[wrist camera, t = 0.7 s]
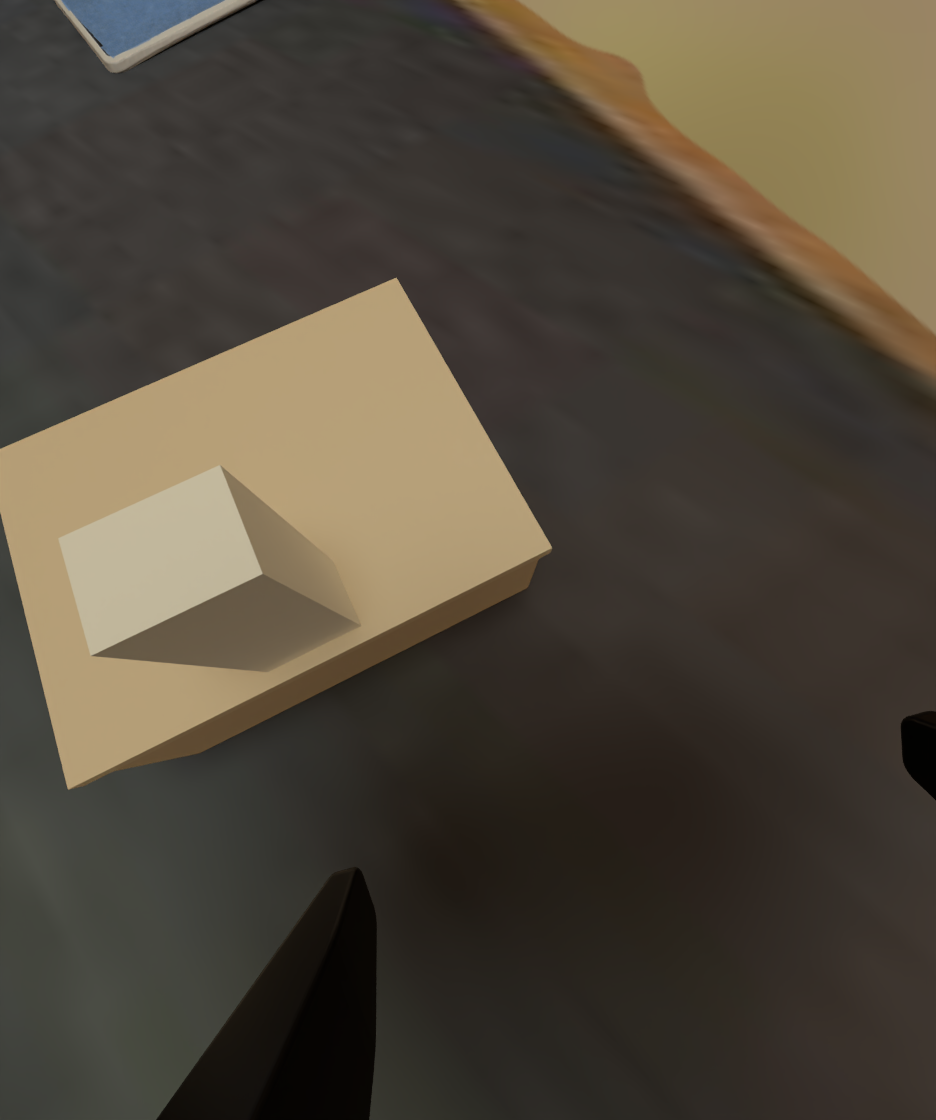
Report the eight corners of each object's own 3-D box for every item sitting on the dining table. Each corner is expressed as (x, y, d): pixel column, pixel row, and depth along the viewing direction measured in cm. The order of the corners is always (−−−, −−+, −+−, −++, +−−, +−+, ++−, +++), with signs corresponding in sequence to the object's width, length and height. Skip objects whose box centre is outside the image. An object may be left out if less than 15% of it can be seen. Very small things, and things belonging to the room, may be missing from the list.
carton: (527, 587, 22) (541, 550, 16) (199, 753, 21) (90, 776, 15) (417, 387, 25) (396, 296, 20) (125, 520, 24) (9, 465, 18)
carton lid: (549, 553, 16) (600, 440, 9) (84, 786, 15) (-301, 874, 8) (398, 290, 20) (345, 48, 12) (2, 462, 18) (-326, 307, 11)
